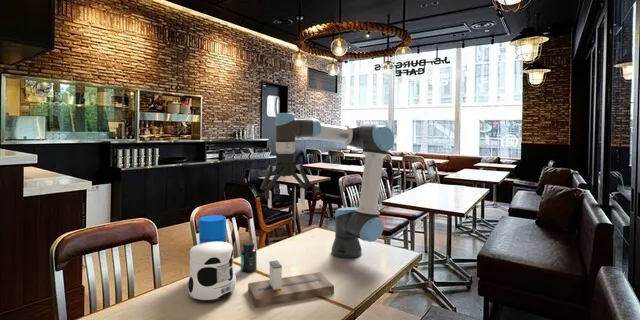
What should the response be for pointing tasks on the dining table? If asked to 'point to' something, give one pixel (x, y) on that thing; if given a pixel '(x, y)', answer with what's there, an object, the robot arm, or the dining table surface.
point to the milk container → (211, 271)
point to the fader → (275, 275)
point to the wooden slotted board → (290, 289)
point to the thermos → (212, 229)
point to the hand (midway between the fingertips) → (286, 205)
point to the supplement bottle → (248, 258)
